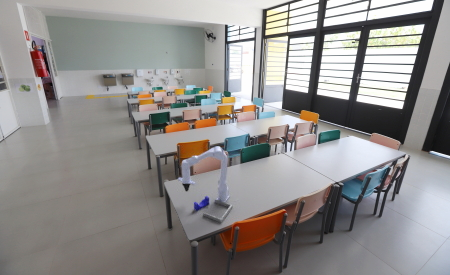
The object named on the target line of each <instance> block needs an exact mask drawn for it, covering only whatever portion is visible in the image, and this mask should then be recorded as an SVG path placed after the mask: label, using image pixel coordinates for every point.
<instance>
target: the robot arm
mask: <svg viewBox="0 0 450 275" xmlns="http://www.w3.org/2000/svg"><path fill="white" fill-rule="evenodd" d="M206 158H213V159H214V158H215V159H216V160H219V161H220V171H219V172H220V174H219V178H218V179H219V180H218V181H217V183H218V188H217V198H215V199H216V200H220V201H223V202H226V203H227V201H228V199H230V190H229V189H230V188H229V187H228V184H227V174H228V162H229V160H228V159H229V158H228V155H227V154H226V153H225V150H224V149H223V148H222V147H221V146H219V145H218V146H217V145H215V146H214V147H211V148H210V149H208V150H207V151H204V152H202V153H201V154H199V155H191V157H189V158H186V159H183V160H182V161H181V165H180V167H181V175H182V176H181V177H180V176H179V177H178V178H177V181H178V182H181V185H182V186H183V188H184V191H185V192H189V190H190V186H191V185H192V186H196V182H195V181H193V180H192V179H191V167H192V166H194V165H197V164H198V163H199V162H201V161H202V160H205V159H206Z"/></svg>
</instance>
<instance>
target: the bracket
mask: <svg viewBox="0 0 450 275" xmlns="http://www.w3.org/2000/svg"><path fill="white" fill-rule="evenodd" d="M216 199H217V198H215V199H214V204H217V205H221V206H224V207H226V208H227V207H228V208H227V209H226V211H225V213H224V214H223V215H222V216H221V217H218V216H215V215H212V214H210V213H207V212H203V213H202V216H203V217H205V218H208V219H209V220H213V221H216V222H217V223H223V221H224V220H225V218H226V217H227V215H228V214H229V213H230V212H231V210H232V209H233V204H231V203H228V202H227V201H226V202H223V201H220V200H216Z"/></svg>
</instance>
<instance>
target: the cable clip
mask: <svg viewBox="0 0 450 275" xmlns="http://www.w3.org/2000/svg"><path fill="white" fill-rule="evenodd" d="M208 205H210V197H209V196H208V195H206V196H205V197H204V199H202V200H201V202H199V203H198V202H197V201H194V202H193V209H194V210H195V211H196V212H198V211H199V210H201V209H203V208H205V207H206V206H208Z"/></svg>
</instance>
